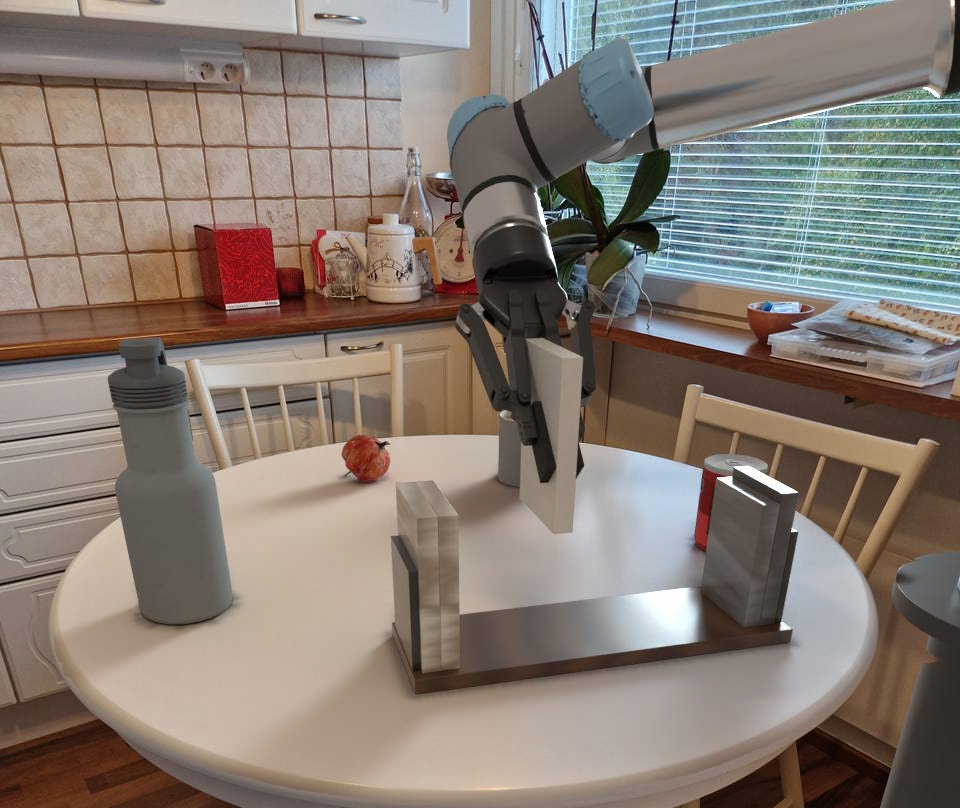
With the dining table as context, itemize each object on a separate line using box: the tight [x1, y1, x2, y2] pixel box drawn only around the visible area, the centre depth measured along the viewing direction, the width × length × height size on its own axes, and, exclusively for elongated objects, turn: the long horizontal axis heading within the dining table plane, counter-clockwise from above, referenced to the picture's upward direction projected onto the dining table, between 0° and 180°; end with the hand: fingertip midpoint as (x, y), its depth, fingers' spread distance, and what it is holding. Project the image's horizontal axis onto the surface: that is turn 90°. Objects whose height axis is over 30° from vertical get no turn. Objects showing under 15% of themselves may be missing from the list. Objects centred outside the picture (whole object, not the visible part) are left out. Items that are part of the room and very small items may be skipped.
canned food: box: [693, 453, 769, 552], centre depth 107 cm, size 8×8×11 cm
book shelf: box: [390, 466, 799, 695], centre depth 83 cm, size 39×12×16 cm, turn 105°
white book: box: [519, 338, 583, 535], centre depth 76 cm, size 2×10×15 cm, turn 15°
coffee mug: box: [497, 410, 521, 488], centre depth 131 cm, size 13×10×10 cm
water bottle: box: [107, 337, 234, 625], centre depth 87 cm, size 10×10×28 cm
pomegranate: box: [340, 434, 391, 483], centre depth 132 cm, size 7×7×10 cm
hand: (562, 474), depth 73 cm, fingers closed on white book, 2 cm apart
